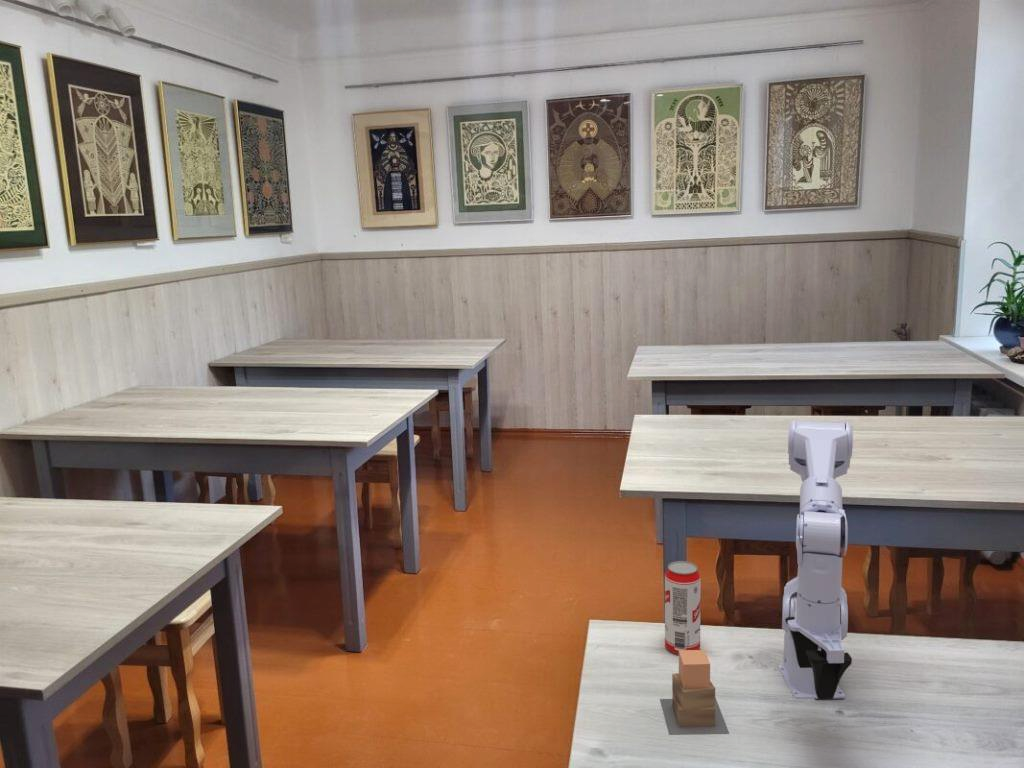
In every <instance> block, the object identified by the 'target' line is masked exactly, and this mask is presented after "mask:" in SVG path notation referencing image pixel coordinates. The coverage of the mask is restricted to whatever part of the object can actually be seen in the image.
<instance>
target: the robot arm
mask: <svg viewBox="0 0 1024 768" xmlns="http://www.w3.org/2000/svg"><path fill="white" fill-rule="evenodd" d="M853 430H854V428H853V425H852V424H851V423H850V422H849V421H848V422H847V421H846V422H829V421H825V422H824V421H807V420H806V421H804V420H796V419H792V420H791V421H789V423H788V437H787V438H788V439H787V453H788V454H787V455H788V465H789V466H790V467H789V470H790V471H792V472H794V473H796V474H798V475H799V476H800V478H801V482H802V483H801V485H800V491H799V495H800V496H799V513H798V514H797V516H796V523H795V524H796V525H795V527H796V528H795V529H796V530H795V531H796V532H795V547H796V553H797V557H796V558H797V565H798V566H797V576H795V577H794V578H792V579H791V580H789V581H787V583H786V584H785V586H784V588H783V590H784V591H783V596H782V618H781V620H782V621H781V629H782V630H783V631H784V636H783V637H784V640H783V664H782V663H781V664H778V665H777V669H778V671H779V672H780V674H781V675H782V677H783V679H784V682H786V685H787V686H788V688H789V690H790V692H791V694H792V696H793V697H794V698H795V699H815V700H829V699H845V696H846V694H845V693H844V691H843V690H842V689H841V687H840V685H839V684H840V683H839V682H840V681H841V678H842V677H843V675H844V673H845V672H846V670H847V669H849V667H850V666H851V665H852V663H853V658H852V657H851V655H850V654H849V652H845V648H844V646H843V645H842V641H843V640H845V639H846V638H847V637H848V628H849V627H848V626H849V625H848V624H849V606H848V595H847V593H846V590H845V589H844V588H843V586H842V582H843V581H842V577H843V559H844V558H843V556H846V553H847V550H848V542H849V541H848V540H849V539H848V538H849V526H848V518H847V515H846V512H845V511H846V510H845V509H843V492H842V491H843V490H842V489H843V488H842V487H841V485H840V484H839V482H838V481H837V480H836V478H837V479H838V478H839V477H841V476H844V475H847V474H848V470H849V468H850V467H851V466H850V465H851V459H852V457H853V456H852V455H853V446H854V445H853V444H854V434H853V433H854V431H853ZM841 549H842V551H841ZM842 552H843V553H842Z"/></svg>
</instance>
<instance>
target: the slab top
mask: <svg viewBox="0 0 1024 768" xmlns="http://www.w3.org/2000/svg"><path fill="white" fill-rule="evenodd" d="M671 675H672V677H671V679H672V680H671V681H672V682H671V687H672V688H671V692H672V691H673V693H674V695H675V696H676V698H677V700H678V701H679V703H680V705H681V706H682V708H683V710H687V709H695V708H703V707H711V706H715V698H716V687H715V686H714V684H713V682H711V680H710V688H683V685H682V682H681V679H680V676H679V672H677V673H672V674H671Z"/></svg>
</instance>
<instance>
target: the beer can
mask: <svg viewBox="0 0 1024 768" xmlns="http://www.w3.org/2000/svg"><path fill="white" fill-rule="evenodd" d="M701 582H702V581H701V576H700V572H699V571H698V566H697V565H696V564H695V563H693V562H690V561H687V560H686V561H685V560H676V561H672V562H670V563H669V564H668V566H667V570H666V571H665V574H664V644H665V648H666V649H667V651H669V652H670V653H672V654H674V655H678V656H679V650H700V648H701Z"/></svg>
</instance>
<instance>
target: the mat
mask: <svg viewBox="0 0 1024 768" xmlns="http://www.w3.org/2000/svg"><path fill="white" fill-rule="evenodd" d="M659 701H660V705H661V710H662V713H663V718H664V720H665V724H666V728H667V729H666V730H667V732H668V735H669V736H681V735H684V736H685V735H730V732H729V729H728V726H727V724H726V721H725V719H724V715H723V713H722V711H721V708H720V706H719V703H718V700H717V698H716V697H715V706H714V707H715V726H712V727H679V726H678V723H677V719H676V716H675V712H674V709H673V705H672V698H659Z"/></svg>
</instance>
